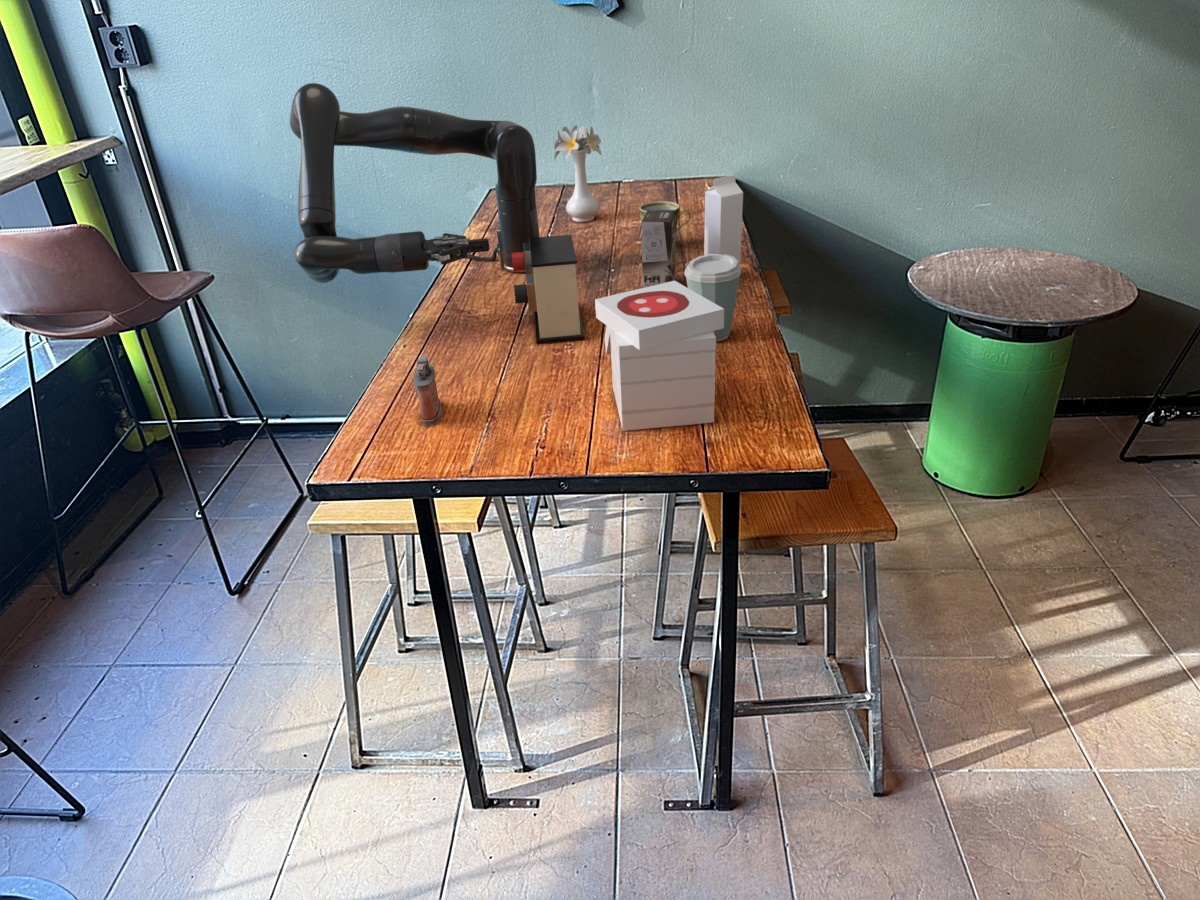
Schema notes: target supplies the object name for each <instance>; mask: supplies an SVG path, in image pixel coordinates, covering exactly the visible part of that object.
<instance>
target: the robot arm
mask: <svg viewBox="0 0 1200 900" xmlns="http://www.w3.org/2000/svg"><path fill="white" fill-rule="evenodd" d="M289 127H290V130H291V131H292V133H293V134H294V135H295V136H296V137H297V138H298V139H300V143H301V145H300V146H301V149H300V150H301V151H300V152H301V153H300V168H299V180H298V195H297V197H298V199H297V200H298V204H297V205H298V223H299V227H300V230H301V232H302V234H303V239H302V240H300V241H299V242H298V243H297V244H296V246H295V249H294V259H295V262H296V263H297V265H298V266H299V267H300V269H301V270H302V271H303V272H304V273H305V274H306V276H307V277H308V278H310V279H311V280H312V281H314V282H316V283H319V284H327V283H329V282H331V281H334V279H336V277H337V276H338V274H339V272H340V270H348V271H350V272H352V273H354V274H358V275H370V274H381V273H388V274H389V273H390V274H393V273H404V272H416V271H426V270H428V268H429V262H437V263H440V265H443V266H446V265H449V264H452V263H454V262H457V261H460V260H462V259H465V258H467V259H471V260H473V261H479V262H493V261H495V260H496V259H497V256H499V261H500V269H504V271H507V272H510V273H526V268H525V270H520V271H513V263H512V253H517V252H524V246H523V243H530V241H529V238H535V237H541V235H540V227H539V217H538V207H537V206H538V205H537V195H536V186H537V182H538V181H537V180H538V175H537V158H536V156H537V155H536V146H535V142H534V141H535V140H534V137H533V135H532V134H531V132H530V131H529V130H528V129H527V128H525V127H524V126H522V125H520V124H518V123H516V122H514V121H510V120H486V119H485V120H484V119H470V118H464V117H460V116H457V115H453V114H449V113H445V112H442V111H437V110H436V111H435V110H431V109H425V108H419V107H413V106H394V107H393V106H392V107H389V108H383V109H379V110H375V111H369V112H349V111H342V110H341V106H340V102H339V99H338V98H337V96H336V95H335V93H334V92H333V91H332V90H331V89H330V88H329V87H327V86H326V85H323V84H322V83H318V82H317V83H316V82H311V83H306V84H303V85H302V86H300V87H299V88H298V89H297V91H296V92H295V93H294V95H293V99H292V102H291V108H290V114H289ZM336 146H337V147H363V148H369V149H370V148H372V149H378V150H388V151H398V152H402V153H410V154H418V155H427V156H443V155H451V154H453V155H454V154H468V155H475V156H479V157H484V158H488V159H491V160H494V161H496V170H497V183H496V184H495V185H494V186H495V188H494V190H495V198H496V206H497V214H498V223H499V228H497V229H496V236H497V243H496V247H495V248H494V249H493V250H492V256H490V257H482V256H477V255H474V254H472V253H483V252H484V253H485V252H489V251H490V242H489V240H490V239H488V237H487V238H486V237H485V238H474V239H473V238H472V239H470V238H467V236H466V235H461V234H453V233H447V232H444V233H442V235H441V236H434V237H433V238H429V239H427V238H426V236H425V233H424V232H423V231H421V230H418V231H407V232H396V233H394V232H393V233H385V234H382V235H376V236H365V237H363V236H362V237H358V238H352V237H351V238H350V237H346V236H345V237H343V236H338V234H337V227H336V222H337V221H336V219H337V217H336V216H337V215H336V213H337V212H336V210H337V209H336V208H337V207H336V187H335V186H336V185H335V147H336ZM524 260H525V258H524Z"/></svg>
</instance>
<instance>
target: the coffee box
mask: <svg viewBox="0 0 1200 900" xmlns="http://www.w3.org/2000/svg"><path fill="white" fill-rule="evenodd" d="M641 256H642V257H641V261H642V265H641V266H642V288H645V287H650V286H654V285H658V284H662V283H667V282H671V281H676V234H675V210H657V211H647V212H646V214H645V216H644V218H643V220H642V221H641Z"/></svg>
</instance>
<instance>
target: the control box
mask: <svg viewBox="0 0 1200 900" xmlns="http://www.w3.org/2000/svg"><path fill="white" fill-rule="evenodd" d="M572 236H573V235H572V234H562V235H548V236H540V237H535V238H529V241H530V243H523V246H524V258H525V268H526V272H525V280H526V281H525V284H526V286H527V296H528V303H527V304H528V311H529V313H533V314H534V315H533V317H534V329H535V341H536V344H537V345H542V344H553V343H562V342H575V341H576V342H577V341H585V340H586V335H585V330H584V325H583V320H582V314H581V310H580V309H581V308H580V305H579V295H578V293H579V291H578V279H577V264H578V258H577V254H576V249H575V245H574V240H573V237H572Z"/></svg>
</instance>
